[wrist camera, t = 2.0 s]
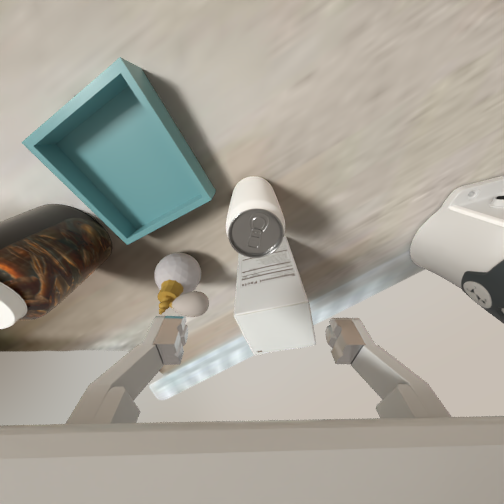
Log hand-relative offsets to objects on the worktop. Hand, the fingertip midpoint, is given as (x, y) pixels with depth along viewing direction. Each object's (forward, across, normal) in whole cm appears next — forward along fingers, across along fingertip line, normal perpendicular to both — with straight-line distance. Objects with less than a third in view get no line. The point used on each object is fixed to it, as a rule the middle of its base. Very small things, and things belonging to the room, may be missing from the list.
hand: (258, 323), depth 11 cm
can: (+22, 0, 0) cm, 22 cm away
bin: (+22, +15, -4) cm, 27 cm away
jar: (+23, +30, +8) cm, 38 cm away
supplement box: (+22, -4, +12) cm, 26 cm away
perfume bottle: (+23, +11, +12) cm, 28 cm away
